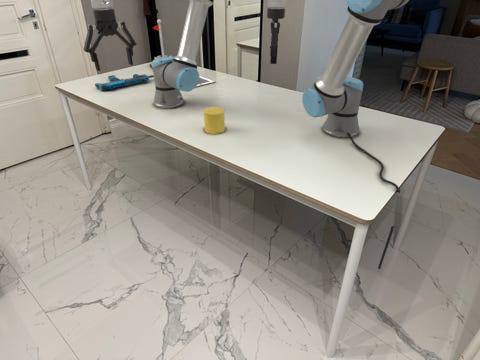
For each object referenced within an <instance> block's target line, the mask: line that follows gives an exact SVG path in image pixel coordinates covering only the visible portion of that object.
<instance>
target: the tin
mask: <svg viewBox="0 0 480 360" xmlns="http://www.w3.org/2000/svg"><path fill="white" fill-rule="evenodd" d="M225 116H226V115H225V109H224V108H223V107H220V106H209V107H206V108H204V109H203V123H204V132H206V133H207V134H210V135H211V134H212V135H218V134H222V133H224V132H225V131H226V123H225V122H226V120H225Z"/></svg>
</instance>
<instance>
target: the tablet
mask: <svg viewBox="0 0 480 360" xmlns="http://www.w3.org/2000/svg"><path fill="white" fill-rule="evenodd" d="M213 83H216V81H215V80H212V79H210V78H207V77H204V76H201V75H199V82H198V85H197V86H196V87H202V86H205V85H209V84H213ZM196 87H195V88H196Z"/></svg>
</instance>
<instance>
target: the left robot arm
mask: <svg viewBox="0 0 480 360" xmlns="http://www.w3.org/2000/svg"><path fill="white" fill-rule="evenodd" d="M214 1H215V0H189V4H188V7H187V13H186V17H185V21H184V26H183V29H182V34H181V38H180V43H179V47H178V51H177V54H176V56H172V57H169V56H167V57H164V58H158V59H153V60H152V61H151V63H149V66H150V68H151V69H152V72H153V73H152V75H154V77H153V81H154V87H155V91H154V98H153V105H154V106H155V107H156V108H159V109H176V108H178V107H180V106H182V105H183V104H184V97H183V95H182V93H181V92H186V93H188V92H192V91H193V90H195V89H196V86H197V85H198V82H199V76H200V73H199V71H198V66H199V65H198V63H197V61H196V60H197V56H198V52H199V48H200V43H201V41H202V35H203V32H204V28H205V23H206V20H207V14H208V11H209V8H210V7H211V6H213V5H214ZM90 4H91V8H92V9H93V10H92V14H93V18H94V23H95V24H89V23H88V24H87V25H86V27H87V32H86V36H85V41H84V45H83V52H85V53H89V57H90V60H91V62H92V63H94V67H95V70H96V71H97V72H100V71H101V68H100V63H99V58H98V54H97V53H96V51H97V48H98V46H99V44H100V42H101V40H102V39H103V37H109V36H111V37H113V36H114V35H115V36H116V37H117V39H119V40H120V41H121V42H122V43H123V44H125V45H126V46H127V47H125V50H126V56H127V62H128V65H129V66H134V61H133V57H134V49H133V48H134V47H135V46H137V42H136V41H135V39H134V37H133V36H132V34H131V32H130V31H129V30H128V28H127V25H126V23H125V21H123V20H120V21H118V22H117V18H116V12H115V9H114V1H113V0H90ZM118 28H119V29H121V30H122V32H123V33H124V35H125V36H123V35H122V34H121V33H120V31H119V30H118ZM95 29H96V30H97V32H96V35H95V37H94V39H93V35H94V31H95ZM125 37H126V38H127V39H126V38H125ZM92 40H93V42H92Z"/></svg>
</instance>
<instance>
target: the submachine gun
mask: <svg viewBox="0 0 480 360" xmlns="http://www.w3.org/2000/svg"><path fill="white" fill-rule="evenodd" d="M107 77H108V80H109V82H103V83H100V82H96V83H94V86H95V88H97V89H98V90H100V91H107V90H113V91H114V90H115V89H116V88H120V87H125V86H129V85H134V84H138V83H139V84H140V83H145V82H146V83H147V81H148V80H150V79H151V78H154V74H151V75H147V74H138V73H134V74H133V75H132V77H129V78H121V79H120V78H118V77H117V76H116V75H113V74H112V75H108V76H107Z"/></svg>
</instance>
